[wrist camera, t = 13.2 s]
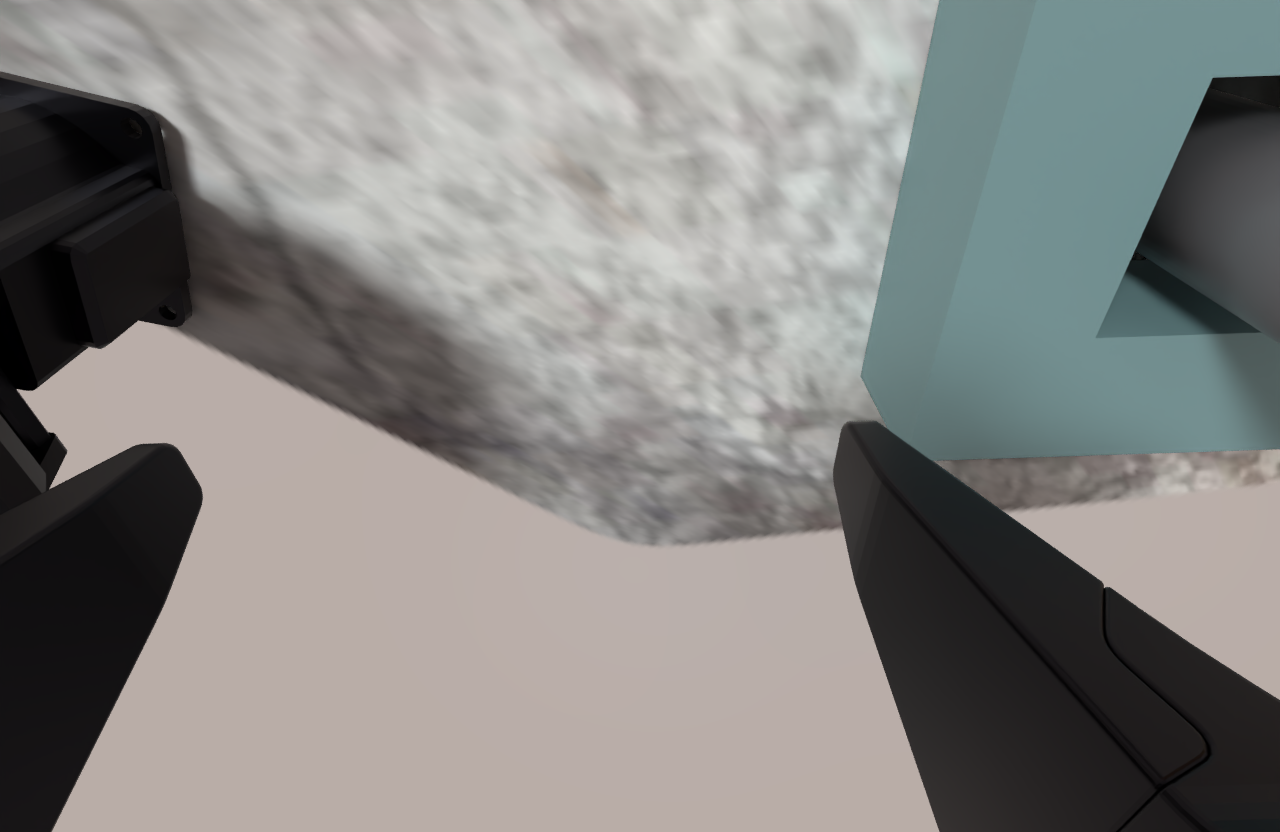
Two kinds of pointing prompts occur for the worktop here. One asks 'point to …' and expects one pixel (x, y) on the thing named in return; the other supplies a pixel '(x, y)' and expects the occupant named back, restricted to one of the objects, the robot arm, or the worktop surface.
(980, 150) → the socket
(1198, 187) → the plug
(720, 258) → the worktop surface
